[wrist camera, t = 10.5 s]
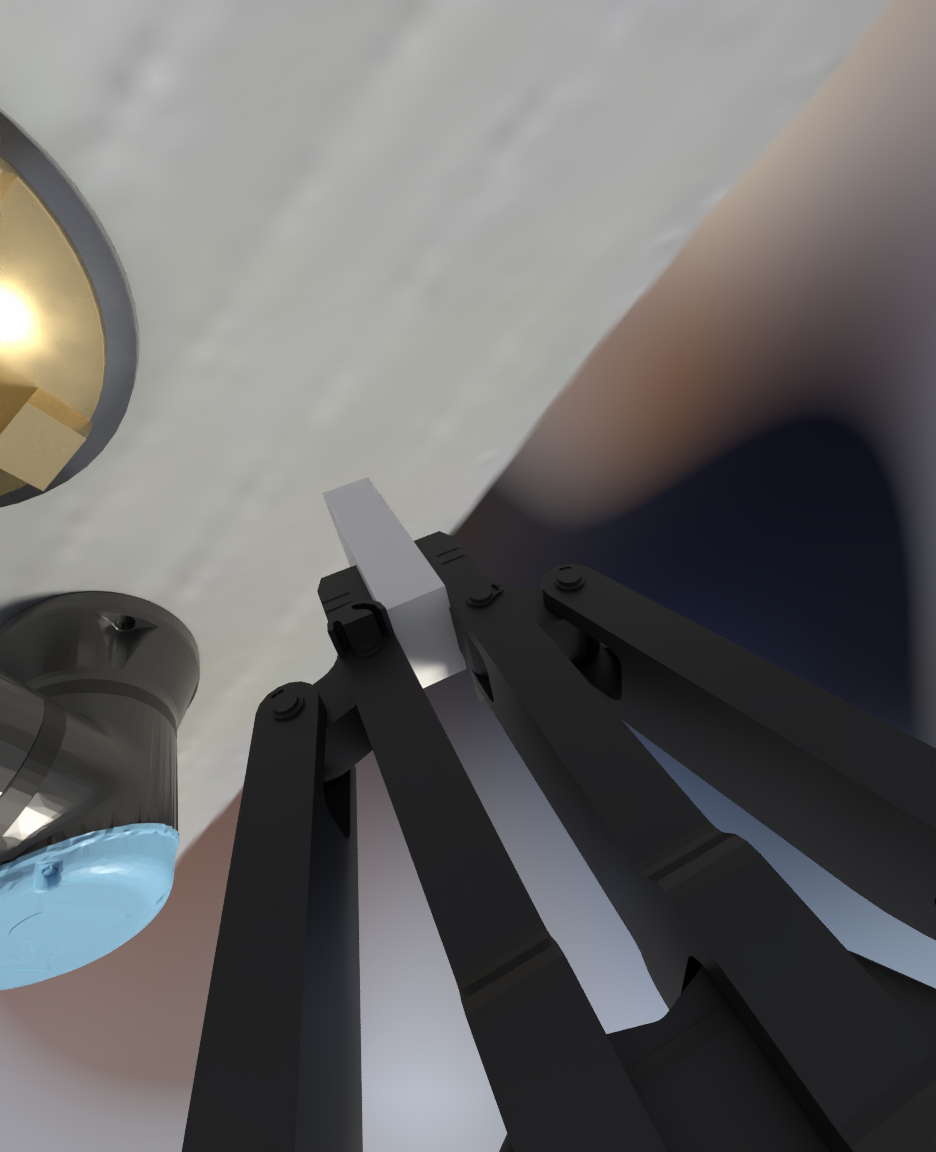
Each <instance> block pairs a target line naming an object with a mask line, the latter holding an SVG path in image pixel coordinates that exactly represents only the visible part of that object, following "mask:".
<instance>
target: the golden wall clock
mask: <svg viewBox="0 0 936 1152" xmlns="http://www.w3.org/2000/svg"><path fill="white" fill-rule="evenodd" d="M106 366H107V337H106V328H105V323H104V318H103V313H102V308H101V305H100V302H99V299H98V296H97V293H96V290H95V286H94V283H93V281H92V278H91V276H90V274H89V272H88V270H87V268H86V266H85V263H84V261H83V259H82V257H81V255H80V253H79V251H78V249H77V248H76V246H75V245H74V243H73V241H72V240H71V238H70V236H69V235H68V233H67V231H66V230H65V228H64V226H63V225H62V223H61V222H60V221H59V219H58V218H57V217H56V215H55V214H54V213H53V211H52V210H51V209H50V207H49V206H48V205H47V203H46V202H45V201H44V199H43V198H42V197H41V195H40V194H39V193H38V192H37V191H36V190H35V189H34V188H33V187H32V185H31V184H30V183H29V182H28V181H27V180H26V179H25V178H24V177H23V176H22V174H21V173H20V172H19V171H18V170H17V169H16V168H15V167H14V166H13V165H12V164H11V163H10V162H9V161H8V160H7V159H6V158H4V157H3V156H2V155H1V154H0V496H1V495H3V494H6V493H9V492H11V491H14V490H17V489H19V488H21V487H23V486H24V485H26V484H28V483H29V484H31V485H32V486H34V487H36V488H38V489H40V490H42V491H44V490H45V489H46V488H47V486H48V485H49V484H50V483H51V482H52V480H53V479H54V478H55V477H56V475H57V474H58V473H59V472H60V471H61V469H62V468H63V467H64V466H65V465H66V463H67V462H68V461H69V460H70V459H71V457H72V456H73V455H74V454H75V453H76V451H77V450H78V449H79V448H80V446H81V445H82V444H83V443H84V442H85V440H86V439H87V437H88V435H89V433H90V430H91V428H92V426H93V422H91V421H90V419H91V417H92V415H93V413H94V411H95V408H96V406H97V404H98V402H99V400H100V396H101V392H102V389H103V385H104V381H105V376H106Z"/></svg>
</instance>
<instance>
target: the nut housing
mask: <svg viewBox="0 0 936 1152" xmlns="http://www.w3.org/2000/svg"><path fill="white" fill-rule="evenodd" d="M0 154H1V155H2V156H3V157H4V158H6V159H7V160H8V161H9V162H10V163H11V164H12V165H13V166H14V167H15V168H16V169H17V170H18V171H19V172H20V173H21V174H22V176H23V177H24V178H25V179H26V180H27V181H28V182H29V183H30V184H31V185H32V187H33V188H34V189H35V190H36V191H37V192H38V193H39V194H40V195H41V197H42V198H43V199H44V201H45V202H46V203H47V205H48V206H49V207H50V209H51V210H52V211H53V213H54V214H55V215H56V217H57V218H58V219H59V221H60V222H61V223H62V225H63V226H64V228H65V230H66V231H67V233H68V235H69V236H70V238H71V240H72V241H73V243H74V245H75V246H76V248H77V249H78V251H79V253H80V255H81V257H82V259H83V261H84V263H85V266H86V268H87V270H88V272H89V274H90V276H91V278H92V281H93V283H94V286H95V290H96V293H97V296H98V299H99V302H100V305H101V308H102V313H103V318H104V323H105V328H106V337H107V366H106V376H105V381H104V385H103V389H102V392H101V396H100V400H99V402H98V404H97V406H96V408H95V411H94V413H93V415H92V417H91V419H90V421H91V422H93V426H92V428H91V430H90V433H89V435H88V437H87V439H86V440H85V442H84V443H83V444H82V445H81V446H80V448H79V449H78V450H77V451H76V453H75V454H74V455H73V456H72V457H71V459H70V460H69V461H68V462H67V463H66V465H65V466H64V467H63V468H62V469H61V471H60V472H59V473H58V474H57V475H56V477H55V478H54V479H53V480H52V482H51V483H50V484H49V485H48V486H47V488H46V489H45V490H44V491H42V490H40V489H38V488H36V487H34V486H32V485H31V484H29V483H28V484H26V485H24V486H23V487H21V488H19V489H17V490H14V491H11V492H9V493H6V494H3V495H1V496H0V507H4V506H8V505H12V504H16V503H20V502H22V501H25V500H28V499H30V498H33V497H36V496H38V495H41V494H44V493H46V492H47V491H49V490H51V489H53V488H55V487H57V486H59V485H61V484H62V483H64V482H66V481H68V480H69V479H70V478H72V477H73V476H74V475H76V474H77V473H79V472H80V471H81V470H83V469H84V468H85V467H87V466H88V465H89V464H90V463H91V462H92V461H93V460H94V459H95V458H96V457H97V456H98V455H99V454H100V453H101V452H102V451H103V449H104V448H105V446H106V445H107V444H108V442H109V441H110V439H111V438H112V437H113V435H114V434H115V433H116V431H117V429H118V427H119V425H120V423H121V421H122V419H123V417H124V415H125V413H126V410H127V407H128V403H129V400H130V397H131V393H132V390H133V387H134V383H135V380H136V374H137V367H138V359H139V329H138V322H137V316H136V310H135V303H134V300H133V296H132V293H131V290H130V286H129V283H128V279H127V276H126V273H125V271H124V269H123V266H122V264H121V261H120V259H119V257H118V254H117V252H116V250H115V247H114V245H113V244H112V242H111V240H110V238H109V236H108V235H107V233H106V231H105V229H104V227H103V226H102V224H101V222H100V220H99V218H98V217H97V215H96V214H95V212H94V211H93V209H92V208H91V206H90V205H89V204H88V202H87V201H86V199H85V198H84V196H83V195H82V193H81V192H80V191H79V189H78V188H77V186H76V185H75V184H74V183H73V182H72V180H71V179H70V178H69V177H68V176H67V174H66V173H65V172H64V171H63V170H62V168H61V167H60V166H59V165H58V164H57V163H56V161H55V160H54V159H53V158H52V157H51V155H50V154H49V153H48V152H47V151H46V150H45V149H43V148H42V147H41V146H40V145H39V144H38V143H37V142H36V141H35V140H34V139H33V138H32V137H31V136H30V135H29V134H28V133H27V132H26V131H25V130H24V129H23V128H22V127H21V126H20V125H19V124H18V123H17V122H16V121H14V120H13V119H12V118H11V117H10V116H8V115H7V114H6V113H5V112H4V111H2V110H1V109H0Z"/></svg>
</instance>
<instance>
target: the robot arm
mask: <svg viewBox="0 0 936 1152" xmlns="http://www.w3.org/2000/svg"><path fill="white" fill-rule="evenodd" d="M322 494H323V496H324V499H325V502H326V504H327V507H328V509H329V512H330V515H331V517H332V520H333V522H334V525H335V528H336V530H337V533H338V536H339V538H340V541H341V543H342V546H343V549H344V551H345V554H346V557H347V559H348V562H349V564H350V566H351V567H349V568H347V569H344V570H342V571H339V572H336V573H334V574H331V575H329V576H326V577H324V578H321V581H320V584H319V588H318V591H317V592H318V594H319V597H320V600H321V603H322V606H323V608H324V611H325V614H326V617H327V620H328V624H327V626H328V634H329V636H330V638H331V640H332V642H333V645H334V647H335V649H336V651H337V653H338V656H337V660H336V662H335V664H334V666H333V667H332V668H331V670H330V671H329V672H328V673H327V674H326V675H325V676H324V677H322V678H321V679H320V680H319V681H317V682H316V683H314V684H313V685H311V684H309V683H305V682H291V683H288V684H285V685H283V686H280V687H278V688H277V689H275V690H274V691H272V692H271V693H269V694H268V695H267V696H266V697H265V699H264V700H263V701H262V702H261V703H260V705H259V707H258V710H257V712H256V716H255V722H254V728H253V734H252V740H251V745H250V751H249V757H248V763H247V769H246V775H245V781H244V787H243V793H242V799H241V805H240V811H239V816H238V822H237V828H236V834H235V841H234V846H233V852H232V858H231V864H230V870H229V876H228V881H227V887H226V893H225V899H224V905H223V911H222V917H221V923H220V929H219V935H218V941H217V947H216V952H215V958H214V964H213V970H212V977H211V982H210V988H209V994H208V1000H207V1006H206V1012H205V1017H204V1024H203V1029H202V1035H201V1041H200V1047H199V1053H198V1059H197V1065H196V1071H195V1077H194V1083H193V1089H192V1095H191V1100H190V1107H189V1112H188V1118H187V1124H186V1130H185V1136H184V1142H183V1147H182V1152H363V1146H362V1145H363V1143H362V1083H361V1027H360V1025H361V1024H360V968H359V966H360V965H359V909H358V908H359V907H358V853H357V852H358V848H357V791H356V767H355V764H356V763H358V762H359V761H360V760H361V759H362V758H364V757H365V756H366V755H367V754H368V753H369V752H370V751H372V750H373V752H374V755H375V757H376V760H377V763H378V765H379V768H380V771H381V774H382V777H383V779H384V782H385V785H386V788H387V790H388V793H389V796H390V799H391V801H392V804H393V807H394V810H395V812H396V816H397V818H398V821H399V824H400V827H401V829H402V832H403V835H404V838H405V841H406V843H407V846H408V849H409V852H410V854H411V857H412V860H413V863H414V865H415V868H416V871H417V874H418V877H419V879H420V882H421V885H422V887H423V890H424V893H425V896H426V899H427V901H428V904H429V907H430V910H431V913H432V915H433V918H434V921H435V924H436V926H437V929H438V932H439V935H440V938H441V940H442V943H443V946H444V949H445V951H446V954H447V957H448V960H449V963H450V965H451V968H452V971H453V974H454V976H455V979H456V982H457V985H458V989H459V992H460V997H461V1002H462V1005H463V1008H464V1012H465V1015H466V1018H467V1021H468V1024H469V1026H470V1029H471V1032H472V1035H473V1038H474V1041H475V1044H476V1046H477V1049H478V1052H479V1055H480V1058H481V1060H482V1063H483V1066H484V1069H485V1072H486V1074H487V1077H488V1080H489V1083H490V1086H491V1088H492V1091H493V1094H494V1097H495V1100H496V1102H497V1105H498V1108H499V1111H500V1113H501V1116H502V1119H503V1122H504V1125H505V1128H506V1130H507V1135H506V1138H505V1140H504V1142H503V1144H502V1146H501V1149H500V1151H499V1152H936V989H935V988H933V987H931V986H928V985H926V984H924V983H922V982H919V981H917V980H915V979H913V978H910V977H908V976H906V975H904V974H901V973H899V972H897V971H894V970H892V969H890V968H888V967H885V966H883V965H881V964H878V963H876V962H874V961H871V960H870V959H867V958H865V957H863V956H860V955H858V954H856V953H853V952H851V951H848V950H847V949H846V948H845V947H844V946H843V945H842V944H841V943H840V942H839V941H838V939H837V938H836V937H835V936H834V935H833V934H832V933H831V932H830V931H829V929H828V928H827V927H826V926H825V925H824V924H823V923H822V922H821V921H820V920H819V918H818V917H817V916H816V915H815V914H814V913H813V912H812V911H811V909H810V908H809V907H808V906H807V905H806V904H805V903H804V902H803V901H802V900H801V898H800V897H799V896H798V895H797V894H796V893H795V892H794V891H793V890H792V888H791V887H790V886H789V885H788V884H787V883H786V882H785V881H784V880H783V878H782V877H781V876H780V875H779V874H778V873H777V872H776V871H775V870H774V868H772V866H771V865H770V864H769V863H768V862H767V861H766V860H765V858H764V857H763V856H762V855H761V854H760V853H759V852H758V851H757V850H756V849H754V847H753V846H752V845H750V844H749V843H748V842H747V841H746V840H744V839H743V838H741V837H739V836H738V835H736V834H731V833H724V832H721V831H720V830H718V829H717V828H715V827H714V825H712V824H711V822H709V820H708V819H707V818H706V817H705V816H704V815H703V813H702V812H701V811H700V810H699V809H698V808H697V807H696V805H694V803H693V802H692V801H691V800H690V798H689V797H688V796H687V795H686V794H685V793H684V792H683V791H682V789H681V788H680V787H679V786H678V785H677V784H676V782H675V781H674V780H673V779H672V778H671V777H670V776H669V774H668V773H667V772H666V771H665V770H664V768H663V767H662V766H661V765H660V764H659V763H658V762H657V761H656V759H655V758H654V757H653V756H652V755H651V754H650V752H649V751H648V750H647V749H646V748H645V747H644V746H643V744H642V743H641V742H640V741H639V740H638V738H637V737H636V736H635V735H634V734H633V733H632V731H631V730H630V729H629V728H628V727H627V726H626V725H625V724H624V722H626V723H627V724H628V725H630V726H631V727H632V728H634V729H635V730H636V731H638V732H639V733H641V734H642V735H643V736H645V737H646V738H647V739H649V740H650V741H651V742H653V743H654V744H655V745H657V746H658V747H659V748H661V749H662V750H663V751H665V752H666V753H668V754H669V755H670V756H672V757H673V758H675V759H676V760H677V761H678V762H680V763H681V764H682V765H684V766H685V767H687V768H688V769H689V770H691V771H692V772H693V773H695V774H696V775H697V776H699V777H700V778H701V779H703V780H704V781H706V782H707V783H708V784H710V785H711V786H712V787H714V788H715V789H716V790H718V791H719V792H721V793H722V794H723V795H725V796H726V797H727V798H729V799H730V800H732V801H733V802H734V803H736V804H737V805H738V806H740V807H741V808H742V809H744V810H745V811H746V812H748V813H749V814H750V815H752V816H753V817H755V818H756V819H757V820H759V821H760V822H761V823H763V824H764V825H765V826H767V827H768V828H769V829H771V830H772V831H774V832H775V833H776V834H778V835H779V836H780V837H782V838H783V839H784V840H786V841H787V842H788V843H790V844H791V845H792V846H794V847H795V848H797V849H798V850H799V851H801V852H802V853H804V854H805V855H806V856H807V857H809V858H810V859H812V860H813V861H814V862H816V863H817V864H819V865H820V866H821V867H822V868H824V869H825V870H826V871H828V872H829V873H831V874H832V875H833V876H835V877H836V878H837V879H839V880H840V881H841V882H843V883H844V884H845V885H847V886H848V887H850V888H851V889H852V890H854V891H855V892H857V893H858V894H860V895H861V896H863V897H864V898H866V899H867V900H869V901H870V902H872V903H873V904H874V905H876V906H877V907H879V908H880V909H882V910H883V911H885V912H886V913H888V914H890V915H892V916H893V917H895V918H897V919H898V920H900V921H902V922H903V923H906V924H907V925H909V926H910V927H912V928H914V929H916V930H917V931H919V932H921V933H923V934H925V935H926V936H928V937H931V938H932V939H934V940H936V748H934V747H931V746H930V745H928V744H926V743H924V742H922V741H920V740H918V739H916V738H914V737H913V736H911V735H909V734H907V733H905V732H903V731H901V730H899V729H897V728H895V727H893V726H891V725H890V724H888V723H886V722H884V721H882V720H880V719H878V718H876V717H874V716H872V715H870V714H868V713H867V712H865V711H863V710H861V709H859V708H857V707H855V706H853V705H851V704H849V703H847V702H845V701H844V700H842V699H840V698H838V697H836V696H834V695H832V694H830V693H828V692H826V691H824V690H822V689H820V688H819V687H817V686H815V685H812V684H811V683H809V682H807V681H805V680H803V679H801V678H799V677H798V676H796V675H794V674H791V673H790V672H788V671H786V670H784V669H782V668H780V667H778V666H776V665H774V664H773V663H770V662H769V661H767V660H765V659H763V658H761V657H759V656H757V655H755V654H753V653H751V652H750V651H748V650H746V649H744V648H741V647H740V646H738V645H736V644H734V643H732V642H730V641H728V640H727V639H725V638H722V637H721V636H719V635H717V634H715V633H713V632H711V631H709V630H707V629H705V628H704V627H702V626H700V625H698V624H696V623H694V622H692V621H690V620H688V619H686V618H684V617H682V616H681V615H679V614H677V613H675V612H673V611H671V610H669V609H667V608H665V607H663V606H661V605H659V604H657V603H656V602H654V601H652V600H650V599H648V598H646V597H644V596H642V595H640V594H638V593H636V592H634V591H633V590H631V589H629V588H627V587H625V586H623V585H621V584H619V583H617V582H615V581H613V580H611V579H609V578H608V577H605V576H604V575H602V574H600V573H598V572H596V571H594V570H592V569H590V568H588V567H585V566H582V565H577V564H576V565H575V564H567V565H561V566H557V567H555V568H553V569H551V570H549V571H548V572H547V573H546V574H545V575H544V576H543V579H542V582H541V585H542V586H541V587H535V588H530V589H522V590H509V589H508V588H507V587H505V586H504V585H503V584H501V583H500V582H497V581H493V580H488V578H487V577H486V576H485V574H484V573H483V572H482V571H481V570H480V569H479V568H478V566H477V565H476V564H475V563H474V561H473V560H472V559H471V558H470V557H469V555H467V553H466V552H465V551H464V550H463V548H461V546H460V545H459V544H458V542H457V541H456V540H455V539H454V538H453V537H452V536H450V535H447V534H445V533H442V532H440V531H439V532H436V533H433V534H431V535H428V536H426V537H423V538H421V539H418V540H415V541H413V540H412V538H411V537H410V536H409V534H408V533H407V531H406V530H405V529H404V527H403V526H402V524H401V523H400V522H399V520H398V519H397V517H396V516H395V515H394V513H393V512H392V510H391V509H390V507H389V506H388V505H387V503H386V502H385V500H384V499H383V498H382V496H381V495H380V493H379V492H378V491H377V489H376V488H375V486H374V485H373V484H372V482H371V481H370V479H369V478H365V479H362V480H359V481H357V482H354V483H351V484H348V485H345V486H342V487H339V488H337V489H334V490H331V491H328V492H325V493H322ZM463 656H464V658H465V659H466V661H467V663H468V664H469V666H470V668H471V672H472V676H473V680H474V684H475V688H476V691H477V696H478V699H479V702H482V701H484V700H483V697H484V699H485V700H486V702H487V703H488V705H489V707H490V708H491V710H492V711H493V713H494V715H495V716H496V718H497V720H498V721H499V723H500V724H501V726H502V727H503V729H504V731H505V732H506V734H507V736H508V737H509V739H510V740H511V742H512V744H513V745H514V747H515V749H516V750H517V751H518V753H519V755H520V756H521V758H522V760H523V761H524V763H525V765H526V766H527V768H528V769H529V771H530V773H531V774H532V776H533V777H534V779H535V781H536V782H537V784H538V786H539V787H540V789H541V790H542V792H543V794H544V795H545V797H546V798H547V800H548V802H549V803H550V805H551V806H552V808H553V810H554V811H555V813H556V815H557V816H558V818H559V819H560V821H561V823H562V824H563V826H564V827H565V829H566V831H567V832H568V834H569V835H570V837H571V839H572V840H573V842H574V844H575V845H576V847H577V848H578V850H579V852H580V853H581V855H582V856H583V858H584V860H585V861H586V862H587V864H588V866H589V868H590V869H591V871H592V872H593V874H594V875H595V877H596V879H597V880H598V882H599V884H600V885H601V887H602V889H603V890H604V892H605V893H606V895H607V897H608V898H609V900H610V901H611V903H612V905H613V906H614V908H615V910H616V911H617V913H618V914H619V916H620V918H621V919H622V921H623V922H624V924H625V926H626V927H627V929H628V930H629V932H630V934H631V935H632V937H633V939H634V940H635V942H636V944H637V946H638V948H639V950H640V952H641V954H642V957H643V959H644V962H645V964H646V967H647V970H648V972H649V974H650V976H651V978H652V980H653V982H654V984H655V986H656V988H657V990H658V991H659V993H660V995H661V996H662V998H663V1000H664V1002H665V1003H666V1005H667V1007H668V1008H669V1012H668V1013H667V1014H666V1015H665V1016H664V1017H663V1018H662V1019H660V1020H659V1021H656V1022H653V1023H649V1024H645V1025H641V1026H637V1027H633V1028H629V1029H625V1030H622V1031H618V1032H614V1033H610V1034H606V1033H605V1031H604V1029H603V1027H602V1025H601V1024H600V1022H599V1020H598V1018H597V1016H596V1014H595V1012H594V1010H593V1008H592V1006H591V1004H590V1002H589V1000H588V999H587V997H586V995H585V993H584V991H583V989H582V987H581V985H580V983H579V981H578V980H577V977H576V975H575V974H574V972H573V970H572V968H571V966H570V964H569V963H568V961H567V959H566V957H565V955H564V953H563V952H562V950H561V949H560V947H559V945H558V944H557V942H556V941H555V940H554V939H553V938H552V937H551V936H550V934H549V932H548V931H547V929H546V927H545V925H544V923H543V922H542V920H541V918H540V916H539V914H538V912H537V910H536V908H535V906H534V904H533V902H532V900H531V898H530V896H529V894H528V892H527V891H526V889H525V887H524V885H523V883H522V881H521V879H520V877H519V875H518V873H517V871H516V869H515V867H514V865H513V863H512V861H511V859H510V857H509V855H508V853H507V852H506V850H505V848H504V846H503V844H502V842H501V840H500V838H499V836H498V834H497V832H496V830H495V828H494V826H493V824H492V822H491V820H490V818H489V817H488V815H487V813H486V811H485V809H484V807H483V805H482V803H481V801H480V799H479V797H478V795H477V793H476V791H475V789H474V787H473V786H472V784H471V781H470V779H469V778H468V776H467V774H466V772H465V770H464V768H463V766H462V764H461V762H460V760H459V758H458V756H457V754H456V752H455V750H454V748H453V746H452V744H451V742H450V741H449V739H448V737H447V735H446V733H445V731H444V729H443V727H442V725H441V723H440V721H439V720H438V717H437V715H436V713H435V711H434V709H433V707H432V706H431V704H430V702H429V700H428V698H427V696H426V694H425V692H424V690H423V688H425V687H427V686H429V685H431V684H433V683H436V682H438V681H440V680H442V679H444V678H446V677H449V676H451V675H453V674H455V673H457V672H459V671H462V670H464V669H466V666H465V662H464V658H463ZM199 679H200V662H199V651H198V647H197V644H196V641H195V639H194V637H193V636H192V634H191V632H190V631H189V630H188V628H187V627H186V626H185V625H184V624H183V623H182V622H181V621H180V620H179V619H178V618H177V617H176V616H174V615H173V614H172V613H170V612H169V611H167V610H165V609H164V608H162V607H160V606H158V605H156V604H154V603H151V602H149V601H146V600H143V599H140V598H137V597H133V596H129V595H123V594H117V593H107V592H84V593H74V594H68V595H63V596H58V597H54V598H51V599H48V600H44V601H42V602H39V603H37V604H34V605H32V606H30V607H28V608H26V609H24V610H22V611H21V612H19V613H18V614H16V615H15V616H13V617H12V618H11V619H9V620H8V621H7V622H6V623H5V624H4V625H3V626H2V627H1V628H0V990H6V989H12V988H16V987H21V986H25V985H29V984H33V983H36V982H40V981H43V980H46V979H49V978H52V977H54V976H57V975H61V974H64V973H66V972H69V971H71V970H74V969H77V968H79V967H81V966H83V965H86V964H88V963H90V962H92V961H94V960H96V959H98V958H100V957H102V956H104V955H106V954H108V953H110V952H111V951H113V950H115V949H116V948H118V947H119V946H121V945H122V944H124V943H125V942H127V941H128V940H129V939H131V938H132V937H134V936H135V935H136V934H137V933H138V932H140V931H141V930H142V929H143V928H144V927H146V926H147V925H148V924H149V923H150V922H151V920H152V919H153V918H154V917H155V916H156V915H157V914H158V912H159V911H160V910H161V908H162V907H163V905H164V904H165V902H166V900H167V898H168V896H169V894H170V891H171V888H172V884H173V878H174V865H175V853H176V851H177V849H178V845H179V833H178V788H177V730H178V728H179V725H180V723H181V721H182V719H183V717H184V715H185V713H186V710H187V709H188V707H189V705H190V704H191V702H192V700H193V698H194V697H195V694H196V692H197V688H198V684H199ZM482 695H483V696H482ZM622 720H623V721H624V722H623V721H622Z"/></svg>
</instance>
